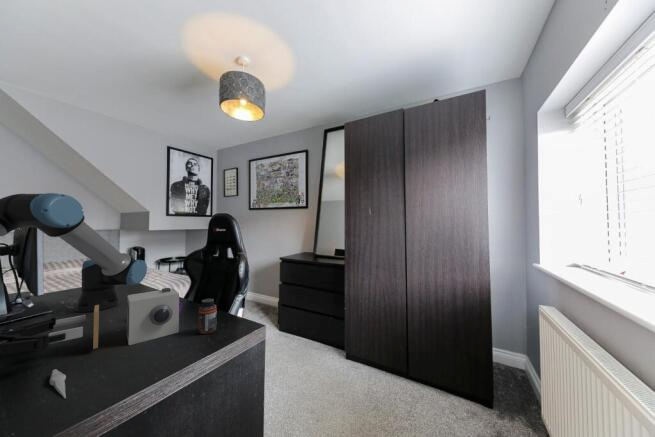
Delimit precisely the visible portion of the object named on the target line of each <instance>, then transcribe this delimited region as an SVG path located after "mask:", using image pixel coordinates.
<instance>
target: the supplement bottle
mask: <svg viewBox="0 0 655 437" xmlns="http://www.w3.org/2000/svg"><path fill="white" fill-rule="evenodd" d="M217 309H218V308H217V305H216V304H215V300H214V298H206V299H202V300H201V306H199V307H198V323H197V324H198V326H197V328H198V333H199V334H201V335H206V334H207V335H208V334H211V333H214V332H215V331H216V330H217V320H218V319H217V313H218V312H217Z"/></svg>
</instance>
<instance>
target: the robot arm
mask: <svg viewBox="0 0 655 437" xmlns="http://www.w3.org/2000/svg"><path fill="white" fill-rule="evenodd" d="M83 208H84V207H83V205H82V204H81V203H80V201H79V200H77V199H76V198H74V197H73V196H70V195H67V194H63V193H56V192H48V193H47V192H46V193H16V194H11V195H7V196H4V197H2V198H0V237H4V236H6V235H7V234H9V233H10V232H13V231H15V230H19V229H23V228H36V229H38V230H39V231H41V232H42V233H43V234H45V235H46V236H48V237H50V238H59V239H61V240H63V241H64V242H65V243H67V244H68V245H69V246H71V247H72V248H74V249H75V250H77V251H78V252H79V253H80V254H82V255H83V256H85V257H86V258H87V260H84V261H83V262H82V266H81V293H80V296H79V298H78V300H77V302H76V304H75V312H77V313H90V312H94V308H95V305H99V311H103V310H106V309H110V308H115V307H117V306H118V305H119V304H120V297H119V295H118V292H117V290H116V286H135V285H139V284H140V283H141V282H143V280H144V279H145V277H146V275H147V272H148V266H147V263H146V261H145V260H142V259H134V258H133V256H131V255H130V254H129V253H125V252H123V253H122V252H120V251H119V250H118V249H117V248H116V247H114V245H112V244H111V243H109V241H107V239H105V238H104V237H102V236H101V235H100V234H99V232H96V230H95V229H93V228H92V227H91V226H89V225H88V224H87V223H86V222H85V218H86V217H85V215H84V211H83ZM86 318H87V317H86V314H82V315H77V316H71V317H67V318H61V319H60V318H59V319H57V317H51V318H49V319H47V320H41V321H37V322H33V323H29V324H25V325H22V326H18V327H13V328H6V329H3V330H2V331H1V333H0V355H8V354H15V353H25V352H31V351H36V350H37V351H38V350H45V349H48V346H49V345H51V344H57V343H60V342H65V341H70V340H73V339H74V340H75V339H78V338H82V337H83V334H84V331H83V327H78V328H73V329H68V330H63V331H58V332H53V327H54V325H55V324H61V323H66V322H71V321H77V320H82V319H86ZM51 330H52V332H50V331H51ZM48 331H49V332H50V333H48V335H46V334H45V335H43V334H42V335H40V334H41V333H46V332H48Z"/></svg>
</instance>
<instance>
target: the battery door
mask: <svg viewBox="0 0 655 437" xmlns="http://www.w3.org/2000/svg"><path fill="white" fill-rule="evenodd" d="M99 320H100V310H99V305H95V308H94V311H93V316H92V317H88V318H87V317H86V318H85V319H82V320H77V321H71V322H66V323H61V324H55V325H54V327H53V329H52V333H53V332H58V331H63V330H68V329H73V328H78V327H83V332H86V331H90V330H93V338H92V339H93V344H92V346H93V348H92V349H93V350H94V349H98V348H99V332H100V330H99V326H100V325H99V323H100V321H99Z"/></svg>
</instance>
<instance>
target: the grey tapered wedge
mask: <svg viewBox="0 0 655 437" xmlns="http://www.w3.org/2000/svg"><path fill="white" fill-rule="evenodd" d="M66 378H67V375H66V374H64V373H62V372H61V371H59V370H58V369H56V368H55V369H53V370H52V372H51V375H50V379H49V385H51V386H52V387H54V389H55V390H56V392H58V393H59V395H60V396H62V397H63V399H67V396H66V382H65V381H66Z"/></svg>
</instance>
